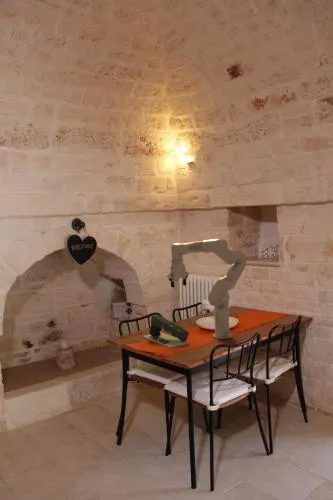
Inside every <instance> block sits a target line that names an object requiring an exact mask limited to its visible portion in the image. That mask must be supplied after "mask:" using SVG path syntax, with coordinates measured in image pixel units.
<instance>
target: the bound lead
mask: <svg viewBox="0 0 333 500" xmlns="http://www.w3.org/2000/svg"><path fill="white" fill-rule="evenodd" d="M153 339H154V340H156V341H158V342H161V343H164V344H167V343H169V341H168V340H166V339H163V338H160V337H158V336H154V337H153Z"/></svg>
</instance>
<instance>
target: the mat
mask: <svg viewBox="0 0 333 500" xmlns="http://www.w3.org/2000/svg"><path fill="white" fill-rule="evenodd" d="M160 333H161V335H159V336H158V337H160V338H163V339H166V340H168V341H169V343H167V344H164V343H161V342H158V341H156V340H154V339H153V336H152V335H150V334H146V335H142V338H144V339H146V340H149V341H151V342H154V343H157V344H158V345H162V346H164V347H167V348H169V349H172V348H176V347H180V346H185V345H189V343H190V342H189V341H187V340H186V341H185V342H182V341H181V340H179V339H178V338H176V337H174V336H172V335H169V334H167V333H164V332H161V331H160Z"/></svg>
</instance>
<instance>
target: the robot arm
mask: <svg viewBox="0 0 333 500" xmlns="http://www.w3.org/2000/svg"><path fill="white" fill-rule="evenodd" d="M170 248H171V260H170V263H171V265H170V272H169V274H167V275H166V277H167V278H168V280H169V282H170V287H171V288H175V280H176V279H177V280H178V279H182V286H187V279H188V277H189V274H190V273H189V271H187V270H186V265H185V263H184V260H183V259H184V258H183V257H184V256H185V255H186V256H187V255H190V254H197V253H204V254H211V253H213V254H214V255H216V256H217V257H218V258H220V259H221V260H222V261H223V262H224V263H226V264H228V265H230V266H229V268H228V270H227V272H226V273H225V275H224V276H223V277H220V278H218V279H217V281H216V282H215V283H214V285H213V286H212V288H211V290H210V292H209V294H208V296H207V301H208V304H209V305H210V306H213V310H214V311H213V312H214V313H213V317H214V333H213V334H212V337H213V338H214V339H218V340H224V339H225V340H226V339H231V338H232V337H233V333H232V332H231V330H230V312H229V310H230V308H229V307H230V306H229V305H230V293H229V291H231V290H233V289H234V288H235V286H236V284H237V283H238V281H239V279H240V277H241V276H242V274H243V272H244V271H245V268H246V265H247V256H246V254H245V253H244V251H243V250H242V249H240V248H234V249H230V248H229V243H228V240H227V239H225V238H215V239H205V240H201V241H192V242H191V241H190V242H186V243H185V242H184V243H178V242H177V243H171V245H170Z"/></svg>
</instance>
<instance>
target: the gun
mask: <svg viewBox="0 0 333 500" xmlns="http://www.w3.org/2000/svg"><path fill="white" fill-rule="evenodd" d="M162 330H163V331H165V333H166V334H167V333H168V334H171V335H170V336H172V337H175V338H178V339H179V340H181V341H182V342H185V341H186V342H187V340H188V338H189V333H190V332H189V331H188V330H187V329H185V328H183V326H180V325H179V324H176V323H175V322H173V321H170V320H169V319H167V318H166V317H164V316H161V315H160V314H155V315H151V318H150V329H149V334H150V335H152V336H153V337H154V336H159V335H161V333H162V332H161V331H162ZM160 332H161V333H160ZM149 334H148V335H149Z"/></svg>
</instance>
